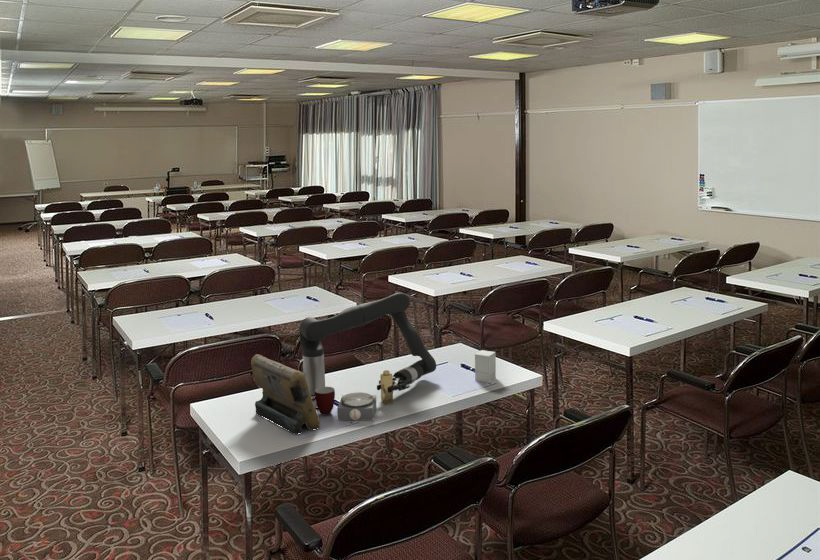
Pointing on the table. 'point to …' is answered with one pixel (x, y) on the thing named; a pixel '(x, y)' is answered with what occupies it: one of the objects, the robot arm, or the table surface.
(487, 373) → the supplement box
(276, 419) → the tablet
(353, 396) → the scale platter
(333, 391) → the mug
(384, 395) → the calibration weight
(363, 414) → the scale housing
